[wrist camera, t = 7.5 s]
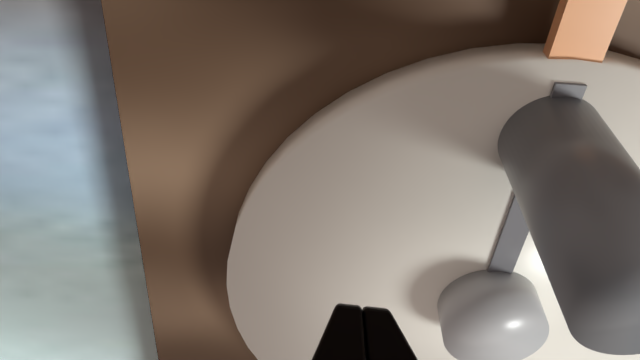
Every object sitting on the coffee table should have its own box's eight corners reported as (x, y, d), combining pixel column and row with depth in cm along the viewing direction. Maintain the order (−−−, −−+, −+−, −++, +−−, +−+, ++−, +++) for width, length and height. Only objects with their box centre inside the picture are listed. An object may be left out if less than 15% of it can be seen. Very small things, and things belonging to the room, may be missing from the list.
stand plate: (640, 427, 26) (682, 520, 23) (176, 391, 25) (152, 481, 22) (1059, -65, 13) (1303, -9, 9) (102, -163, 12) (15, -139, 9)
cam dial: (626, 425, 22) (705, 610, 17) (238, 399, 22) (208, 579, 17) (950, 6, 12) (1384, 176, 7) (217, -51, 12) (124, 83, 7)
